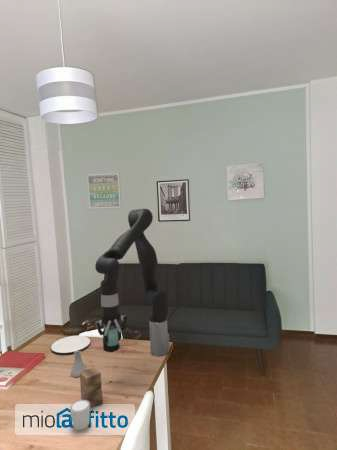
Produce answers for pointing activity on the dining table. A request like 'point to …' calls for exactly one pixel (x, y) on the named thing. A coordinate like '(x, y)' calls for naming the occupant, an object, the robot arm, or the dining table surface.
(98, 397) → the tower base
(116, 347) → the sushi
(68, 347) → the plate
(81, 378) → the tower top
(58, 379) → the dining table surface
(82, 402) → the grey cup
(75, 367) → the flask
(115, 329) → the cylinder
